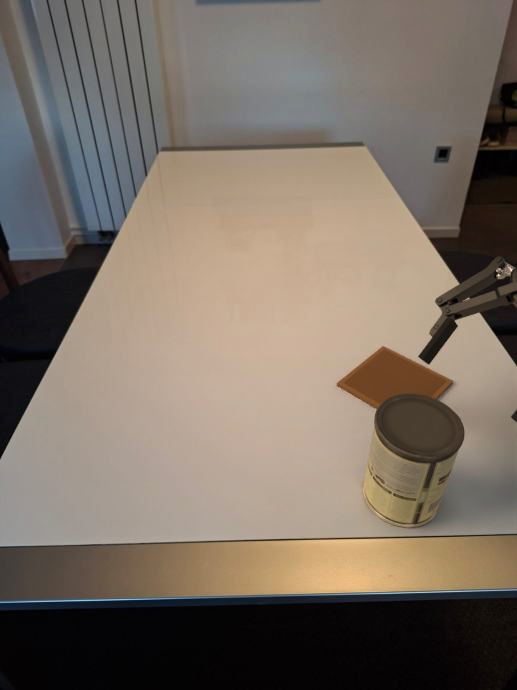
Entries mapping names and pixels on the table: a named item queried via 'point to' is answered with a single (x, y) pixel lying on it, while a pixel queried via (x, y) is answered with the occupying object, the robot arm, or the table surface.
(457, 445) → the coffee can
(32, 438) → the table surface
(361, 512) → the table surface
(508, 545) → the table surface
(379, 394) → the cork mat
